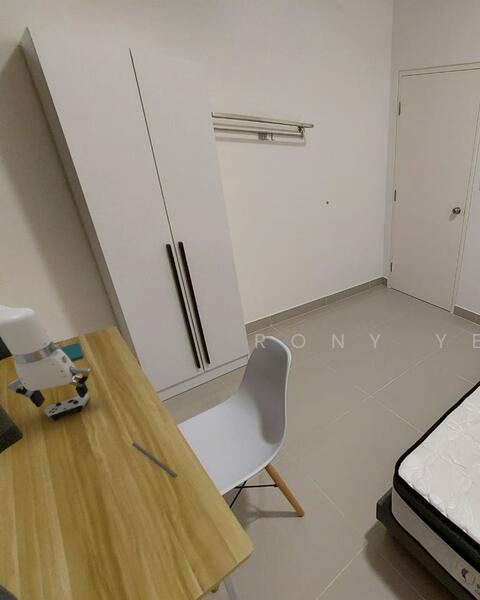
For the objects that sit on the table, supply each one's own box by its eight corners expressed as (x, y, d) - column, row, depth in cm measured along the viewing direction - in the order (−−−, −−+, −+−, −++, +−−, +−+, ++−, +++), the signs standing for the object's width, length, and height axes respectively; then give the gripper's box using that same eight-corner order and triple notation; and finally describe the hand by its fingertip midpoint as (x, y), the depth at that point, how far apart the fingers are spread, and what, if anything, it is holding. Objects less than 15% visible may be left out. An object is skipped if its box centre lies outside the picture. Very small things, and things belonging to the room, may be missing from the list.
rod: (175, 478, 81) (174, 476, 81) (132, 445, 89) (132, 443, 88) (178, 476, 82) (177, 474, 81) (135, 443, 89) (135, 441, 89)
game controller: (89, 393, 102) (83, 391, 97) (94, 409, 101) (88, 408, 97) (45, 407, 97) (37, 406, 92) (50, 424, 96) (43, 424, 91)
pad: (40, 371, 111) (39, 369, 110) (38, 356, 117) (37, 354, 117) (83, 357, 118) (82, 355, 118) (79, 344, 125) (78, 342, 124)
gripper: (81, 338, 93) (104, 383, 101) (-2, 351, 87) (29, 398, 95) (71, 353, 87) (96, 399, 96) (-19, 368, 81) (16, 417, 89)
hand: (63, 399), depth 95 cm, fingers open, 9 cm apart
